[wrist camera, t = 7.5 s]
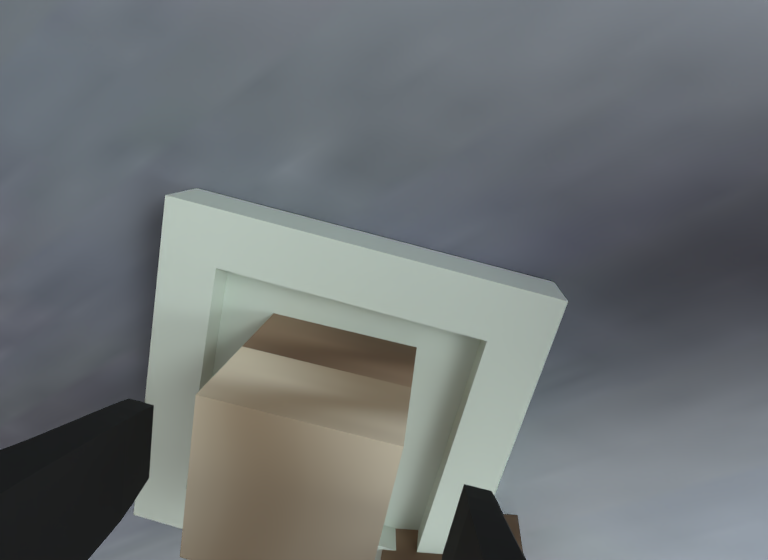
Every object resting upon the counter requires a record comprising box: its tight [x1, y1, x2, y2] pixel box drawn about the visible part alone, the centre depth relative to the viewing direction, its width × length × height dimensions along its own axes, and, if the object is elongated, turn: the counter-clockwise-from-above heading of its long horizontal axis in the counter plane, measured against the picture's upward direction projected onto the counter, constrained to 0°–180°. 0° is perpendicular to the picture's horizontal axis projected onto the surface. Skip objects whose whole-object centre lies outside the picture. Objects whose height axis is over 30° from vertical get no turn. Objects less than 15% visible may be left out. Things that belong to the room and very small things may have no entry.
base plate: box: [134, 188, 568, 560], centre depth 14 cm, size 10×10×2 cm
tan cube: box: [180, 313, 417, 560], centre depth 12 cm, size 4×4×4 cm
